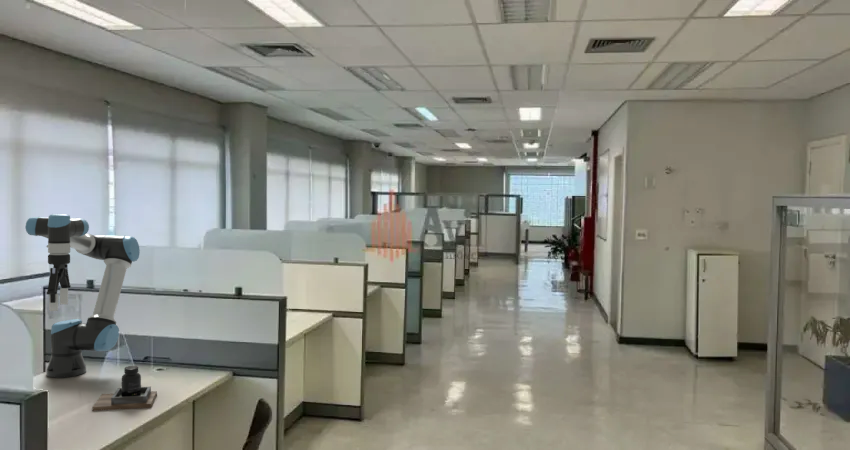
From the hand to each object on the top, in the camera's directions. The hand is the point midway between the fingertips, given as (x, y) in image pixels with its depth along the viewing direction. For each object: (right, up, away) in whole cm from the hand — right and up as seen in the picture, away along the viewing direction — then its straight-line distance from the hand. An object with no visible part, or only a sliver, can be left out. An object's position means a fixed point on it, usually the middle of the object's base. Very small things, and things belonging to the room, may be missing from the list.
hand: (58, 307), depth 244 cm
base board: (+29, -36, -5) cm, 46 cm away
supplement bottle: (+31, -35, -4) cm, 46 cm away
